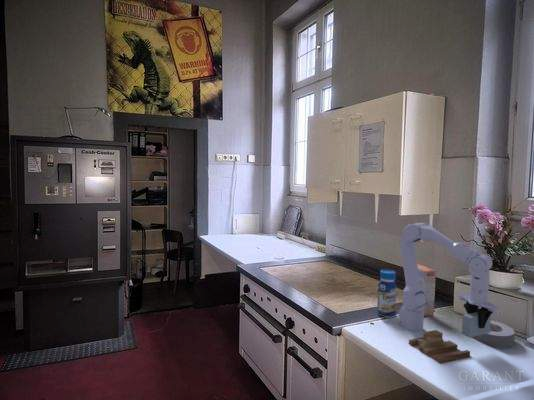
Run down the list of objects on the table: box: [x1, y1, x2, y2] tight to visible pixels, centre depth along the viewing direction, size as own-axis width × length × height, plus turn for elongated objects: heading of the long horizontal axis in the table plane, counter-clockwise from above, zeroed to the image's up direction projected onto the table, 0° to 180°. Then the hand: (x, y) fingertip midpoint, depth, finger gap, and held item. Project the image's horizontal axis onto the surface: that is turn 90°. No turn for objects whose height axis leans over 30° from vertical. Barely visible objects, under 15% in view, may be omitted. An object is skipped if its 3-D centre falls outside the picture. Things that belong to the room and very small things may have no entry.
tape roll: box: [470, 320, 516, 349], centre depth 140 cm, size 15×15×5 cm
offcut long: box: [418, 338, 444, 346], centre depth 132 cm, size 3×9×2 cm, turn 110°
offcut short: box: [422, 329, 443, 342], centre depth 132 cm, size 3×6×2 cm, turn 110°
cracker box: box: [417, 263, 437, 317], centre depth 167 cm, size 14×6×21 cm, turn 9°
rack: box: [408, 336, 472, 365], centre depth 128 cm, size 15×14×2 cm
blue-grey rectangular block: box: [461, 312, 492, 338], centre depth 128 cm, size 3×10×7 cm, turn 110°
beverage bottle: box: [376, 269, 398, 319], centre depth 162 cm, size 8×8×20 cm
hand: (477, 325), depth 128 cm, fingers closed on blue-grey rectangular block, 3 cm apart
